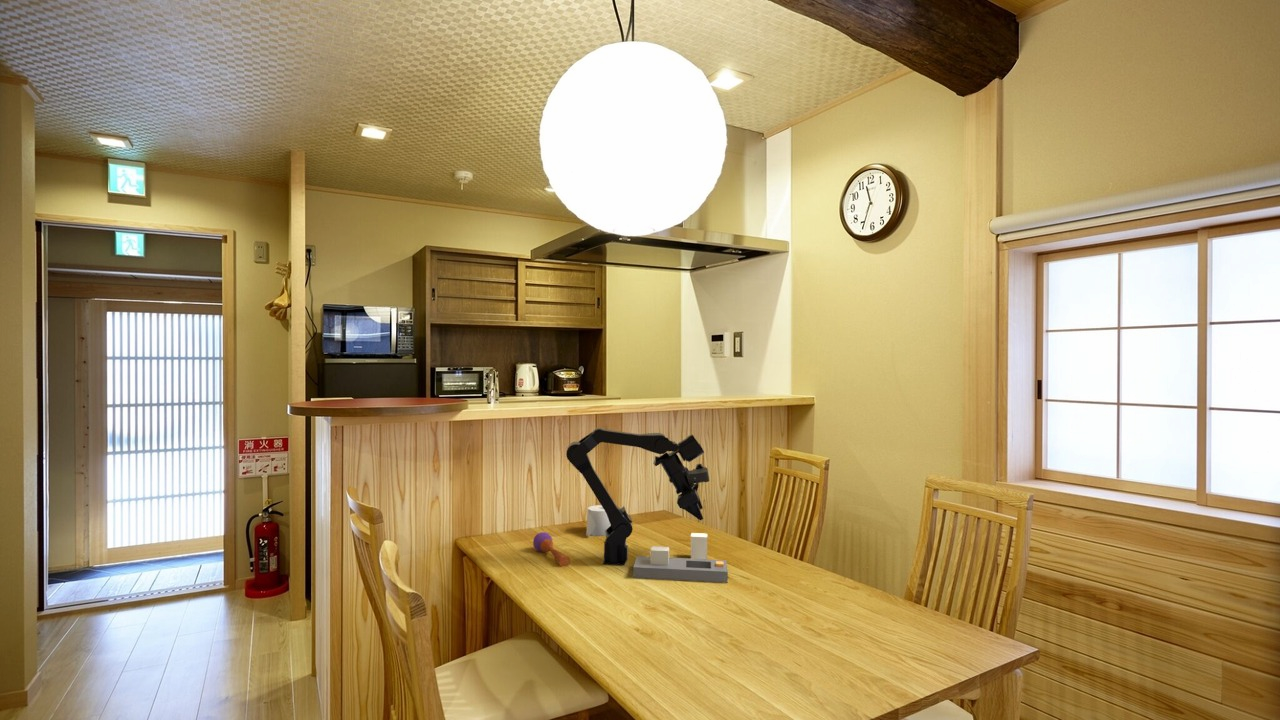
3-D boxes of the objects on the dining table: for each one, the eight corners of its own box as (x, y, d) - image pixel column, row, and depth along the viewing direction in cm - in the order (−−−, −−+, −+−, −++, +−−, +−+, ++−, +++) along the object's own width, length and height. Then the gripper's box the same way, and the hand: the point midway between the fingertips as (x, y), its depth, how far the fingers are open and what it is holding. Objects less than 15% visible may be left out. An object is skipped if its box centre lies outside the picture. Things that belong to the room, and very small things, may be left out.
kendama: (553, 555, 180) (529, 533, 197) (556, 574, 181) (531, 550, 198) (572, 548, 183) (546, 527, 200) (575, 567, 184) (549, 544, 201)
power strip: (633, 577, 173) (633, 552, 173) (637, 566, 183) (637, 542, 183) (727, 582, 170) (727, 557, 170) (726, 570, 180) (726, 546, 180)
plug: (690, 559, 190) (690, 536, 190) (690, 555, 194) (691, 532, 194) (706, 560, 190) (707, 537, 190) (706, 556, 194) (707, 533, 194)
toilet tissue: (584, 539, 210) (585, 513, 210) (589, 528, 223) (589, 504, 223) (611, 539, 210) (611, 514, 210) (614, 529, 223) (614, 505, 223)
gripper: (699, 466, 178) (726, 512, 179) (698, 450, 197) (723, 491, 197) (665, 484, 180) (692, 530, 180) (668, 466, 198) (692, 508, 199)
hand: (701, 514), depth 189 cm, fingers open, 9 cm apart
